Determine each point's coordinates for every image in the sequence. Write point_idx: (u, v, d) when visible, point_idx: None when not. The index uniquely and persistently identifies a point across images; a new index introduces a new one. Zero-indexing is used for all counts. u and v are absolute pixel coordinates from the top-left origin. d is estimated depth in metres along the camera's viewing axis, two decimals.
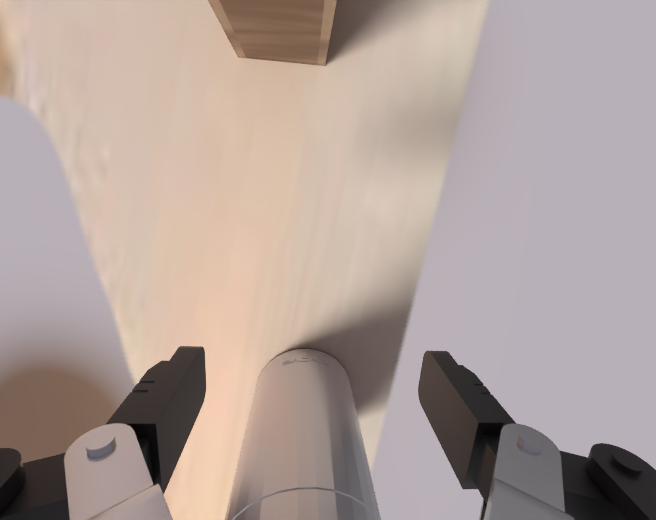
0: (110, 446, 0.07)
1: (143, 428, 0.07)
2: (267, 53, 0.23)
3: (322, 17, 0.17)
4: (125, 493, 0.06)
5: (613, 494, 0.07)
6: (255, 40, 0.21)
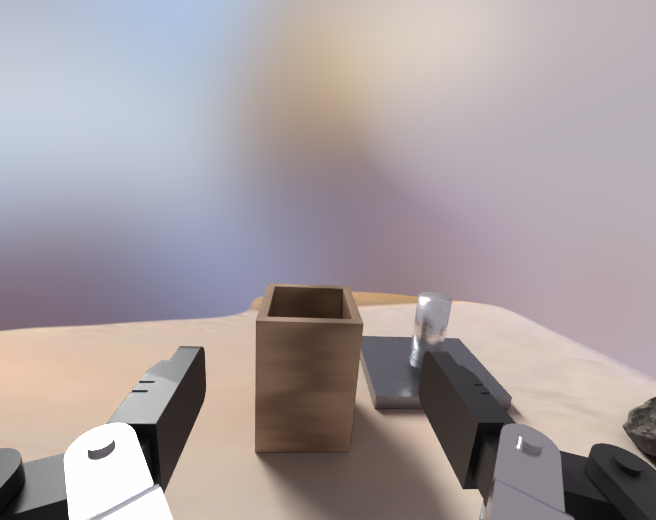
0: (110, 446, 0.07)
1: (143, 428, 0.07)
2: None
3: None
4: (125, 493, 0.06)
5: (613, 494, 0.07)
6: None
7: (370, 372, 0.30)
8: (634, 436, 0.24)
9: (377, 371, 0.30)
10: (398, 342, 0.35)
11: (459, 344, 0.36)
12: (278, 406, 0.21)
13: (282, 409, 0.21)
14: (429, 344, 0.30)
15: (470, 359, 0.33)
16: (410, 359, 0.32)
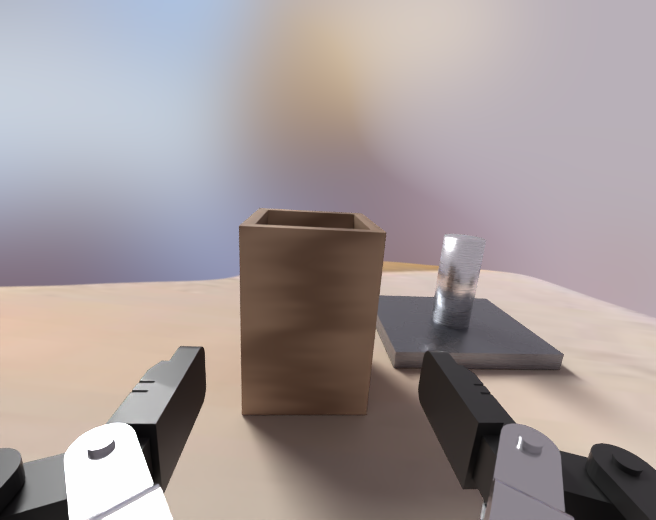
0: (110, 446, 0.07)
1: (143, 428, 0.07)
2: None
3: None
4: (125, 493, 0.06)
5: (613, 494, 0.07)
6: None
7: (386, 329, 0.24)
8: None
9: (395, 327, 0.25)
10: (416, 301, 0.30)
11: (488, 304, 0.31)
12: (271, 351, 0.16)
13: (277, 354, 0.16)
14: (457, 294, 0.24)
15: (504, 317, 0.28)
16: (433, 315, 0.26)
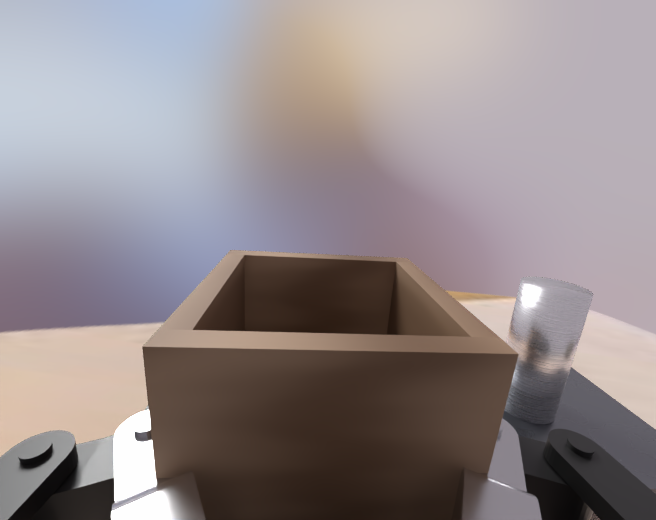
0: None
1: None
2: None
3: None
4: None
5: (565, 475, 0.07)
6: None
7: None
8: None
9: None
10: None
11: None
12: None
13: None
14: (546, 374, 0.16)
15: (597, 395, 0.19)
16: None
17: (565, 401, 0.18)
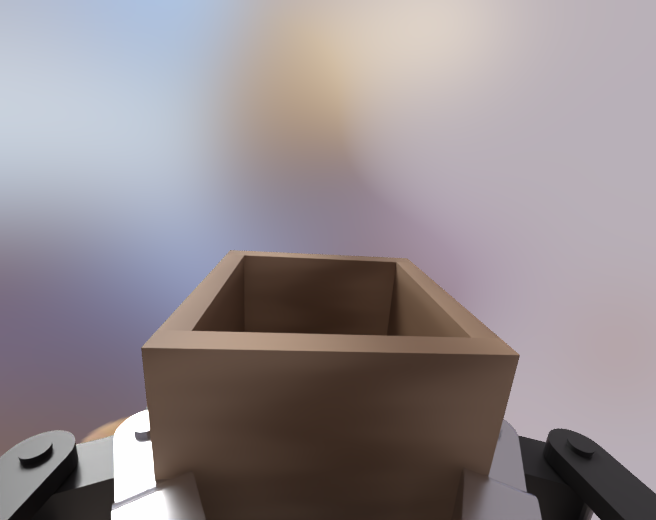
0: None
1: None
2: None
3: None
4: None
5: (565, 475, 0.07)
6: None
7: None
8: None
9: None
10: None
11: None
12: None
13: None
14: None
15: None
16: None
17: None
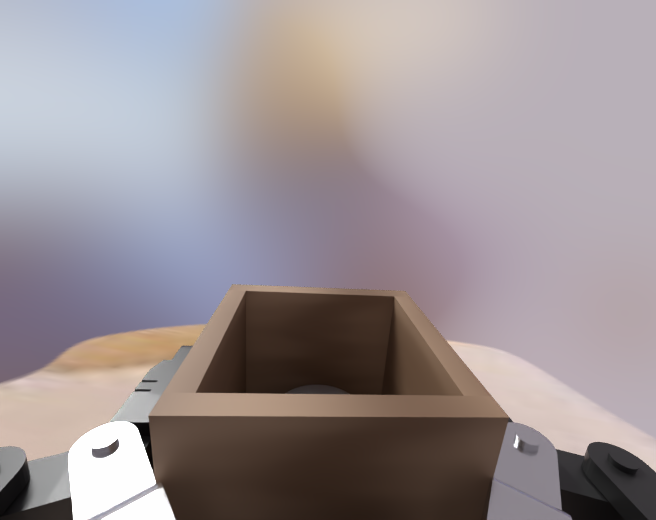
0: (113, 445, 0.07)
1: (146, 427, 0.07)
2: None
3: None
4: (128, 491, 0.06)
5: (609, 492, 0.07)
6: None
7: None
8: None
9: None
10: None
11: None
12: None
13: None
14: None
15: None
16: None
17: None
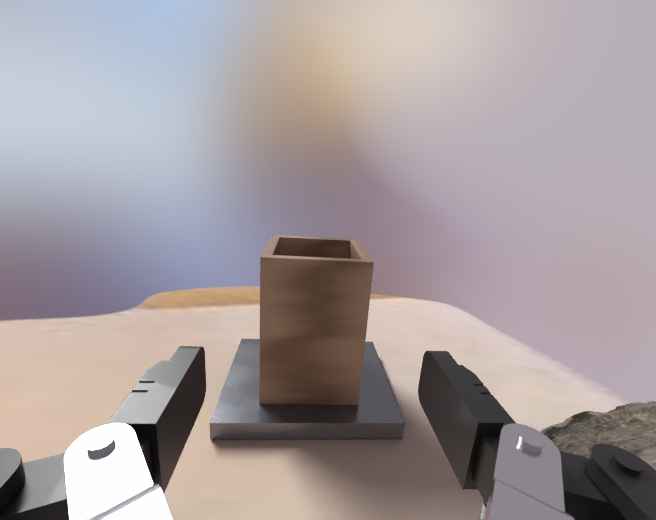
0: (110, 446, 0.07)
1: (143, 428, 0.07)
2: None
3: None
4: (125, 493, 0.06)
5: (613, 494, 0.07)
6: None
7: (224, 388, 0.22)
8: None
9: (236, 386, 0.22)
10: None
11: (369, 349, 0.28)
12: (283, 353, 0.20)
13: (288, 356, 0.20)
14: None
15: (373, 369, 0.26)
16: None
17: None
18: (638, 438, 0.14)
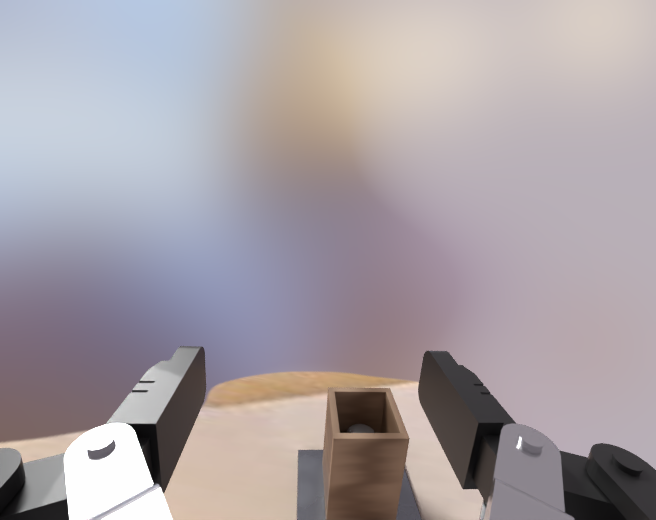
0: (110, 447, 0.07)
1: (143, 428, 0.07)
2: (324, 472, 0.33)
3: (330, 457, 0.28)
4: (125, 493, 0.06)
5: (613, 494, 0.07)
6: (325, 452, 0.33)
7: (298, 509, 0.31)
8: None
9: (306, 506, 0.31)
10: None
11: None
12: (345, 494, 0.29)
13: (348, 495, 0.29)
14: None
15: (402, 482, 0.34)
16: None
17: None
18: None
